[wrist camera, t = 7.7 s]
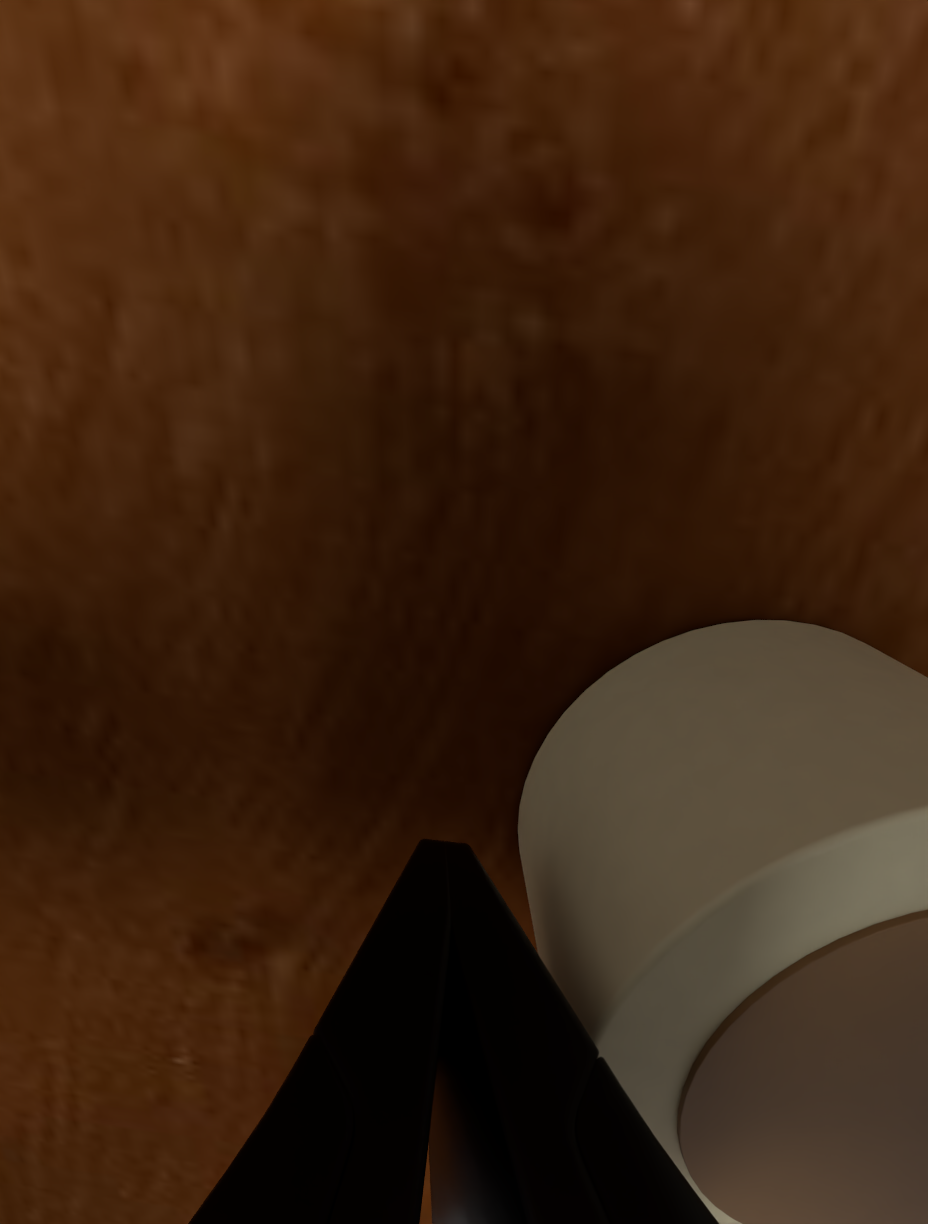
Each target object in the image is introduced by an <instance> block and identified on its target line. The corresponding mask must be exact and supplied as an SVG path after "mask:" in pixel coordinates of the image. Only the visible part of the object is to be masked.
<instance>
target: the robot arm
mask: <svg viewBox="0 0 928 1224" xmlns="http://www.w3.org/2000/svg"><path fill="white" fill-rule="evenodd" d="M598 1056H599V1050H598V1048H597V1047H596V1045H595V1043H594V1042H593V1040H592V1039H591V1037H590V1036H589V1034H588V1032H587V1031H586V1029H585V1028H584V1026H583V1024H582V1023H581V1021H580V1020H579V1018H578V1016H577V1015H576V1013H575V1012H574V1010H573V1009H572V1007H571V1005H570V1004H569V1002H568V1001H567V999H566V997H565V996H564V994H563V993H562V991H561V990H560V988H559V986H558V985H557V983H556V982H555V980H554V978H553V977H552V975H551V974H550V972H549V971H548V969H547V967H546V966H545V964H544V963H543V961H542V959H541V958H540V956H539V955H538V953H537V952H536V950H535V948H534V947H533V945H532V944H531V942H530V940H529V939H528V937H527V936H526V934H525V932H524V931H523V929H522V928H521V926H520V925H519V923H518V921H517V920H516V918H515V917H514V915H513V913H512V912H511V910H510V909H509V907H508V906H507V904H506V902H505V901H504V899H503V898H502V896H501V894H500V893H499V891H498V890H497V888H496V887H495V885H494V883H493V882H492V880H491V879H490V877H489V875H488V874H487V872H486V871H485V869H484V867H483V866H482V864H481V863H480V861H479V860H478V858H477V856H476V855H475V853H474V852H473V850H472V848H471V847H470V846H469V845H468V844H466V843H459V842H450V841H441V840H432V839H422V840H421V841H420V842H419V843H418V845H417V846H416V848H415V850H414V852H413V854H412V855H411V857H410V859H409V861H408V863H407V864H406V866H405V868H404V870H403V872H402V873H401V875H400V877H399V879H398V880H397V882H396V884H395V886H394V888H393V889H392V891H391V893H390V895H389V897H388V898H387V900H386V902H385V904H384V906H383V907H382V909H381V911H380V913H379V914H378V916H377V918H376V920H375V922H374V923H373V925H372V927H371V929H370V931H369V932H368V934H367V936H366V938H365V940H364V941H363V943H362V945H361V947H360V949H359V950H358V952H357V954H356V956H355V957H354V959H353V961H352V963H351V965H350V966H349V968H348V970H347V972H346V974H345V975H344V977H343V979H342V981H341V983H340V984H339V986H338V988H337V990H336V991H335V993H334V995H333V997H332V999H331V1000H330V1002H329V1004H328V1006H327V1008H326V1009H325V1011H324V1013H323V1015H322V1017H321V1018H320V1020H319V1022H318V1024H317V1026H316V1027H315V1029H314V1032H313V1035H312V1036H310V1037H309V1039H308V1041H307V1043H306V1044H305V1046H304V1048H303V1050H302V1052H301V1053H300V1055H299V1057H298V1059H297V1060H296V1062H295V1064H294V1066H293V1067H292V1069H291V1071H290V1072H289V1074H288V1076H287V1077H286V1079H285V1081H284V1082H283V1084H282V1086H281V1087H280V1089H279V1091H278V1092H277V1094H276V1096H275V1097H274V1099H273V1101H272V1102H271V1104H270V1106H269V1107H268V1109H267V1111H266V1112H265V1114H264V1116H263V1117H262V1119H261V1120H260V1122H259V1123H258V1124H257V1126H256V1127H255V1129H254V1130H253V1132H252V1133H251V1135H250V1136H249V1138H248V1139H247V1141H246V1142H245V1144H244V1145H243V1147H242V1148H241V1150H240V1151H239V1153H238V1154H237V1156H236V1157H235V1159H234V1160H233V1162H232V1163H231V1164H230V1166H229V1167H228V1169H227V1170H226V1172H225V1173H224V1174H223V1176H222V1177H221V1179H220V1180H219V1181H218V1183H217V1184H216V1186H215V1187H214V1188H213V1190H212V1191H211V1193H210V1194H209V1195H208V1197H207V1198H206V1200H205V1201H204V1202H203V1204H202V1205H201V1207H200V1208H199V1209H198V1211H197V1212H196V1214H195V1215H194V1216H193V1218H192V1219H191V1221H190V1222H189V1223H188V1224H419V1222H420V1213H421V1204H422V1195H423V1186H424V1177H425V1168H426V1160H427V1151H428V1142H429V1164H430V1185H431V1206H432V1224H719V1223H718V1221H717V1220H716V1219H715V1217H714V1216H713V1215H712V1213H711V1212H710V1211H709V1209H708V1208H707V1207H706V1205H705V1204H704V1203H703V1201H702V1200H701V1199H700V1197H699V1196H698V1195H697V1193H696V1192H695V1191H694V1189H693V1188H692V1187H691V1185H690V1184H689V1183H688V1181H687V1180H686V1178H685V1177H684V1176H683V1174H682V1173H681V1171H680V1170H679V1169H678V1167H677V1166H676V1165H675V1163H674V1162H673V1160H672V1159H671V1158H670V1156H669V1155H668V1154H667V1152H666V1151H665V1149H664V1148H663V1147H662V1145H661V1144H660V1143H659V1141H658V1140H657V1138H656V1137H655V1136H654V1134H653V1133H652V1131H651V1130H650V1128H649V1127H648V1125H647V1124H646V1122H645V1121H644V1119H643V1118H642V1116H641V1115H640V1113H639V1112H638V1110H637V1109H636V1107H635V1106H634V1104H633V1103H632V1101H631V1099H630V1098H629V1096H628V1095H627V1093H626V1092H625V1090H624V1089H623V1087H622V1086H621V1084H620V1083H619V1081H618V1080H617V1078H616V1076H615V1075H614V1073H613V1072H612V1070H611V1068H610V1067H609V1065H608V1064H607V1062H606V1060H605V1059H604V1058H603V1057H598ZM597 1058H598V1059H597Z"/></svg>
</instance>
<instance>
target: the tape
mask: <svg viewBox="0 0 928 1224" xmlns="http://www.w3.org/2000/svg"><path fill="white" fill-rule="evenodd" d="M518 839H519V851H520V857H521V862H522V868H523V873H524V879H525V884H526V890H527V895H528V901H529V906H530V912H531V917H532V923H533V928H534V934H535V939H536V945H537V950H538V955H539V956H540V958H541V959H542V961H543V963H544V964H545V966H546V967H547V969H548V971H549V972H550V974H551V975H552V977H553V978H554V980H555V982H556V983H557V985H558V986H559V988H560V990H561V991H562V993H563V994H564V996H565V997H566V999H567V1001H568V1002H569V1004H570V1005H571V1007H572V1009H573V1010H574V1012H575V1013H576V1015H577V1016H578V1018H579V1020H580V1021H581V1023H582V1024H583V1026H584V1028H585V1029H586V1031H587V1032H588V1034H589V1036H590V1037H591V1039H592V1040H593V1042H594V1043H595V1045H596V1047H597V1048H598V1050H599V1056H598V1057H603V1058H604V1059H605V1060H606V1062H607V1064H608V1065H609V1067H610V1068H611V1070H612V1072H613V1073H614V1075H615V1076H616V1078H617V1080H618V1081H619V1083H620V1084H621V1086H622V1087H623V1089H624V1090H625V1092H626V1093H627V1095H628V1096H629V1098H630V1099H631V1101H632V1103H633V1104H634V1106H635V1107H636V1109H637V1110H638V1112H639V1113H640V1115H641V1116H642V1118H643V1119H644V1121H645V1122H646V1124H647V1125H648V1127H649V1128H650V1130H651V1131H652V1133H653V1134H654V1136H655V1137H656V1138H657V1140H658V1141H659V1143H660V1144H661V1145H662V1147H663V1148H664V1149H665V1151H666V1152H667V1154H668V1155H669V1156H670V1158H671V1159H672V1160H673V1162H674V1163H675V1165H676V1166H677V1167H678V1169H679V1170H680V1171H681V1173H682V1174H683V1176H684V1177H685V1178H686V1180H687V1181H688V1183H689V1184H690V1185H691V1187H692V1188H693V1189H694V1191H695V1192H696V1193H697V1195H698V1196H699V1197H700V1199H701V1200H702V1201H703V1203H704V1204H705V1205H706V1207H707V1208H708V1209H709V1211H710V1212H711V1213H712V1215H713V1216H714V1217H715V1219H716V1220H717V1221H718V1223H719V1224H928V678H927V677H926V676H924V675H922V674H920V673H918V672H916V671H915V670H913V669H911V668H909V667H907V666H906V665H904V664H902V663H900V662H898V661H897V660H895V659H893V658H891V657H889V656H887V655H886V654H884V653H882V652H880V651H878V650H877V649H875V648H873V647H871V646H869V645H867V644H866V643H863V642H861V641H859V640H857V639H855V638H853V637H850V636H848V635H846V634H844V633H842V632H838V631H835V630H831V629H828V628H824V627H821V626H818V625H813V624H807V623H800V622H793V621H786V620H750V621H741V622H732V623H723V624H718V625H714V626H709V627H705V628H701V629H696V630H692V631H689V632H686V633H684V634H681V635H678V636H675V637H672V638H670V639H667V640H664V641H661V642H659V643H657V644H655V645H653V646H651V647H649V648H647V649H645V650H643V651H641V652H639V653H637V654H635V655H633V656H632V657H630V658H629V659H627V660H625V661H624V662H622V663H621V664H619V665H618V666H616V667H614V668H613V669H611V670H610V671H608V672H607V673H606V674H605V675H603V676H602V677H601V678H600V679H598V680H597V681H596V682H595V683H594V684H592V685H591V686H590V687H589V688H587V689H586V690H585V691H584V692H583V693H582V694H581V695H580V696H579V697H578V698H577V699H576V700H575V701H574V702H573V704H572V705H571V706H570V707H569V708H568V709H567V710H566V711H565V712H564V713H563V715H562V716H561V717H560V719H559V720H558V721H557V723H556V724H555V725H554V727H553V728H552V729H551V731H550V732H549V733H548V735H547V737H546V739H545V740H544V742H543V744H542V746H541V747H540V749H539V751H538V753H537V755H536V756H535V758H534V761H533V763H532V766H531V768H530V771H529V773H528V776H527V779H526V781H525V784H524V789H523V793H522V797H521V802H520V806H519V819H518ZM597 1059H598V1058H597Z"/></svg>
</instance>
